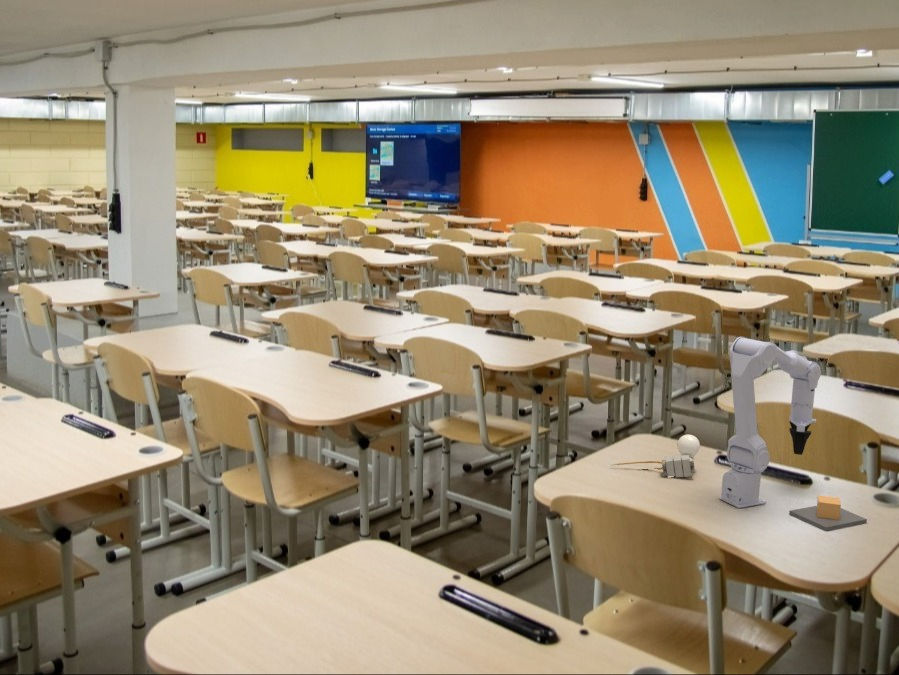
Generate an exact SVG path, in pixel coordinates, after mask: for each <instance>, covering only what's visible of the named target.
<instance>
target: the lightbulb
mask: <svg viewBox="0 0 899 675" xmlns="http://www.w3.org/2000/svg"><path fill="white" fill-rule="evenodd" d="M676 444H677V445H676V446H677V449H678V452H679V455H681V457H682V455H684V454H689V457H693V460H694V458H695V456H696V455H697V454H698V453H699V450H700V448H701V447H700V446H701V444H700V440H699V439H698V438H697V437H696V436H695V435H692V434H684V435H682V436H680V437H679V439H678V440H677V443H676Z"/></svg>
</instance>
